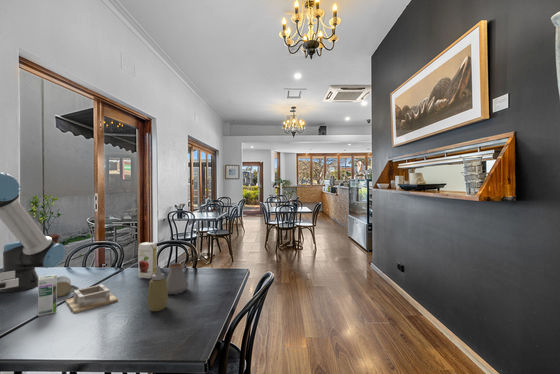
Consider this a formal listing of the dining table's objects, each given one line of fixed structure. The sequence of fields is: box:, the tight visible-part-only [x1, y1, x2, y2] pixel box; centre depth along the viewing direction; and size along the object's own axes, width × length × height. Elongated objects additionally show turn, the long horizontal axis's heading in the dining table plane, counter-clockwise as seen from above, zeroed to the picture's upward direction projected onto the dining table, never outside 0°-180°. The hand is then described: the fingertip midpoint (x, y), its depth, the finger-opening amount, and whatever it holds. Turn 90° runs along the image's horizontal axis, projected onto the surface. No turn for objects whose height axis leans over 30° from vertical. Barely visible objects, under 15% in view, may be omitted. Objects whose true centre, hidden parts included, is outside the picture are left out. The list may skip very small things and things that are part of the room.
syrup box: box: [37, 273, 58, 317], centre depth 112 cm, size 6×6×14 cm
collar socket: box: [65, 283, 119, 314], centre depth 123 cm, size 16×16×5 cm
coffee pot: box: [165, 254, 200, 295], centre depth 140 cm, size 21×12×15 cm, turn 155°
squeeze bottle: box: [146, 265, 169, 312], centre depth 116 cm, size 8×8×18 cm
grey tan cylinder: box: [57, 275, 80, 298], centre depth 132 cm, size 11×8×8 cm
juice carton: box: [137, 241, 158, 280], centre depth 157 cm, size 8×9×19 cm
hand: (16, 277), depth 105 cm, fingers open, 13 cm apart
